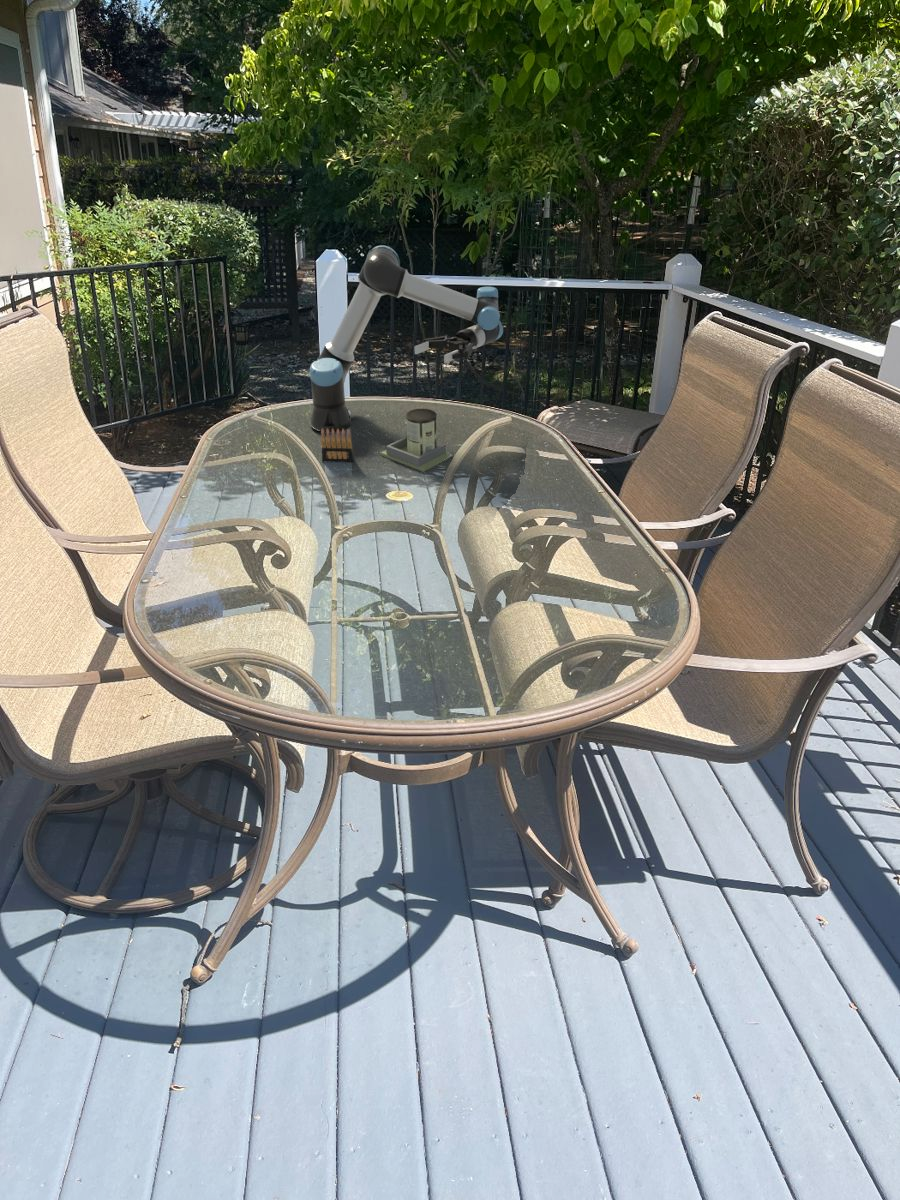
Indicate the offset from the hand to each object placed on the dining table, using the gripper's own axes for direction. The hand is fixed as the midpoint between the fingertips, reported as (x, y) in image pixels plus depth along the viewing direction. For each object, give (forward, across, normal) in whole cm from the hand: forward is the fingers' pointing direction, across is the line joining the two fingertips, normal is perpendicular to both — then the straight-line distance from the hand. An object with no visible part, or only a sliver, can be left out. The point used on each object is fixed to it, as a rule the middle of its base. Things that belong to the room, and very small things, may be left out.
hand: (429, 354), depth 301 cm
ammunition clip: (+36, +11, -30) cm, 48 cm away
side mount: (+16, -7, -30) cm, 34 cm away
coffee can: (+14, -8, -29) cm, 33 cm away
